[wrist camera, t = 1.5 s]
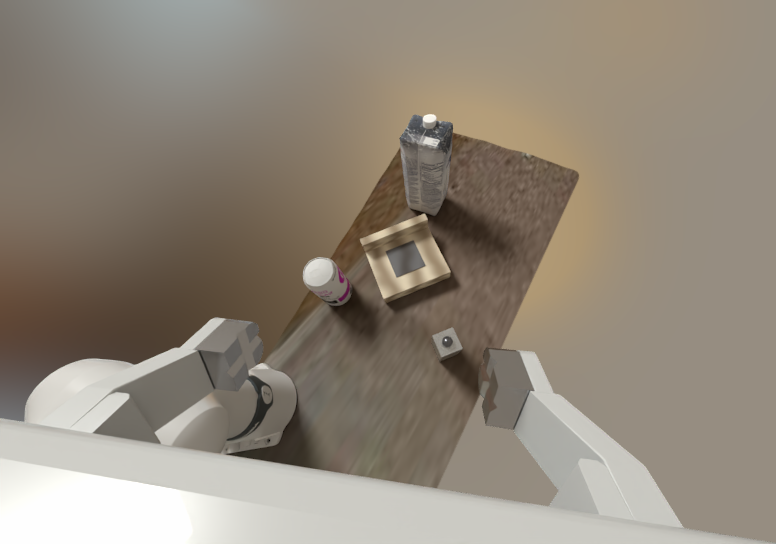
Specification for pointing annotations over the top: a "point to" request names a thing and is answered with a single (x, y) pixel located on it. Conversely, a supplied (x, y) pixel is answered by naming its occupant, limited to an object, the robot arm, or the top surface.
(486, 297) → the top surface
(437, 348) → the square capped bottle
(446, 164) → the juice carton
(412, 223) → the birch stand
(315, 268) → the supplement can
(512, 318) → the top surface
